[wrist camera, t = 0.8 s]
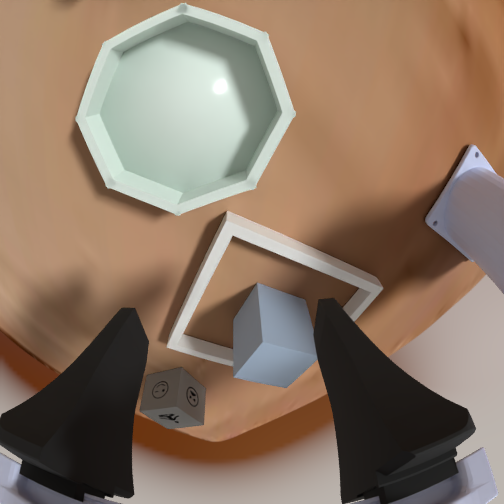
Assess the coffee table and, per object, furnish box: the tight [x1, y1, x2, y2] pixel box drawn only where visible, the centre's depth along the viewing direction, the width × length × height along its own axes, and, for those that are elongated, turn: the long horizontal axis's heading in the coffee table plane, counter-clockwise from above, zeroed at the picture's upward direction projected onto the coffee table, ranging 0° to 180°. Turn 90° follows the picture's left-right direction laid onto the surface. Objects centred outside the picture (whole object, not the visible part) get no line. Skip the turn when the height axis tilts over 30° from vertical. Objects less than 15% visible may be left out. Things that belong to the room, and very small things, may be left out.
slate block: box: [233, 283, 317, 388], centre depth 21 cm, size 4×4×6 cm
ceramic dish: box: [75, 3, 296, 216], centre depth 14 cm, size 11×11×2 cm
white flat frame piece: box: [167, 211, 383, 375], centre depth 23 cm, size 14×14×2 cm
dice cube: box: [140, 367, 206, 429], centre depth 27 cm, size 5×5×5 cm
